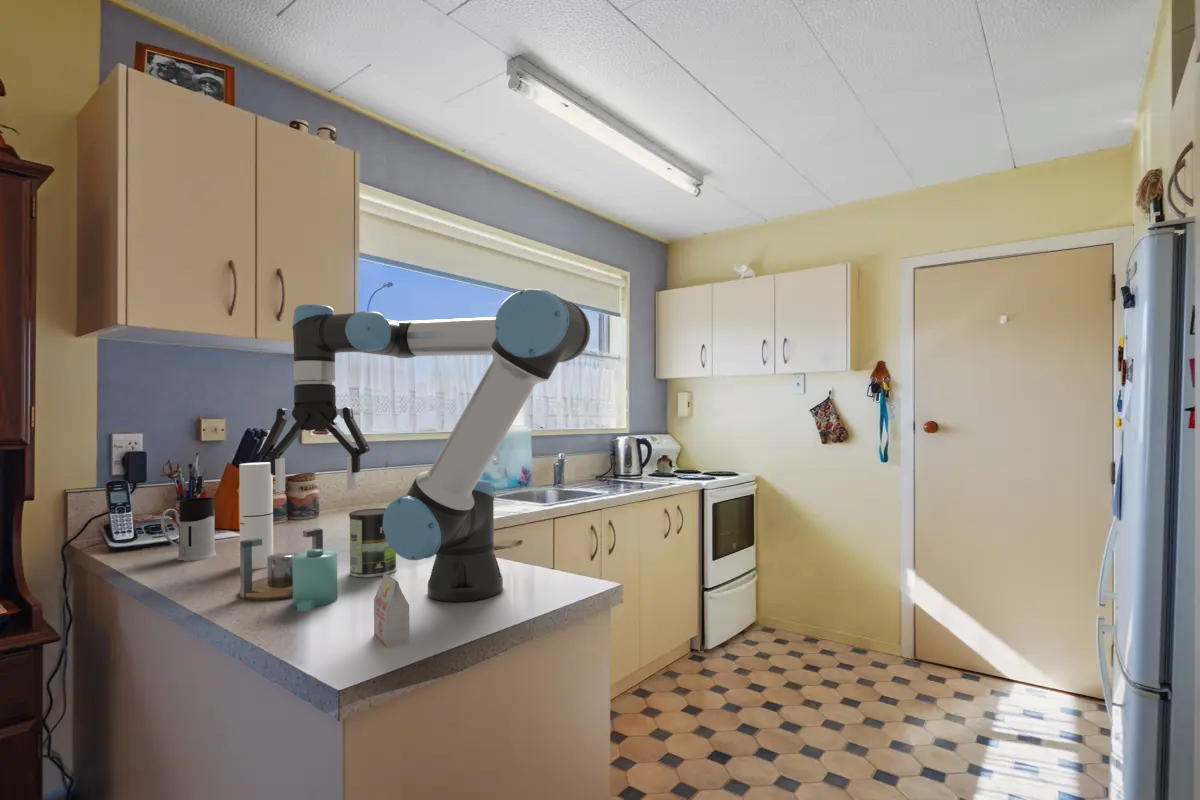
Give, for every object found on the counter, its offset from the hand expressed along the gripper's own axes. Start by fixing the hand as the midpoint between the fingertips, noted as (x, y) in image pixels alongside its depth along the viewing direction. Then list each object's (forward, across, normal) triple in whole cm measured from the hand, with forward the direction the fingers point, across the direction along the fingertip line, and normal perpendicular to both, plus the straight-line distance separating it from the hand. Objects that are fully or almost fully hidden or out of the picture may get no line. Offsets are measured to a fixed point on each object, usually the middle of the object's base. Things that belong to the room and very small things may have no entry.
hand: (316, 490), depth 122 cm
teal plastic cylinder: (+22, 0, 0) cm, 22 cm away
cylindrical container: (+22, +25, -32) cm, 46 cm away
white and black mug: (+22, +47, -41) cm, 66 cm away
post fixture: (+22, +10, -10) cm, 26 cm away
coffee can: (+22, -5, -21) cm, 31 cm away
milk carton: (+22, -20, +22) cm, 37 cm away
